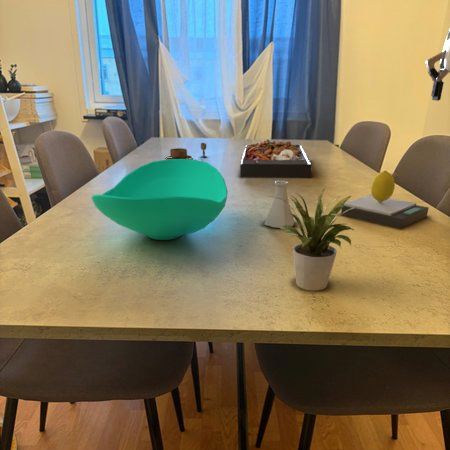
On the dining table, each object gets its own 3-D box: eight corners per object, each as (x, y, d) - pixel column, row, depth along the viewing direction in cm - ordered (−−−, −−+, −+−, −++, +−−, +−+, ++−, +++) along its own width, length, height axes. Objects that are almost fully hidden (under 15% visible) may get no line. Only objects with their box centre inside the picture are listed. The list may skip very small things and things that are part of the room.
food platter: (310, 177, 150) (313, 146, 146) (240, 177, 152) (240, 146, 148) (301, 156, 190) (302, 131, 186) (245, 156, 192) (245, 131, 187)
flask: (299, 222, 105) (302, 180, 100) (287, 230, 99) (290, 187, 95) (272, 218, 108) (273, 177, 103) (259, 226, 103) (260, 183, 98)
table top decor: (213, 272, 78) (212, 200, 72) (69, 265, 82) (56, 195, 76) (236, 212, 113) (236, 159, 107) (134, 208, 117) (129, 158, 111)
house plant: (258, 300, 68) (262, 198, 61) (265, 266, 81) (268, 178, 73) (351, 306, 66) (366, 201, 59) (343, 271, 79) (355, 180, 71)
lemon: (369, 205, 107) (374, 172, 103) (368, 199, 112) (372, 168, 108) (392, 206, 106) (398, 173, 102) (390, 200, 111) (396, 168, 107)
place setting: (161, 159, 187) (160, 144, 184) (205, 156, 192) (205, 142, 190) (169, 165, 172) (168, 150, 170) (216, 162, 178) (216, 147, 175)
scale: (426, 216, 108) (429, 205, 107) (400, 229, 100) (402, 216, 98) (369, 204, 119) (370, 193, 117) (340, 215, 110) (342, 203, 109)
